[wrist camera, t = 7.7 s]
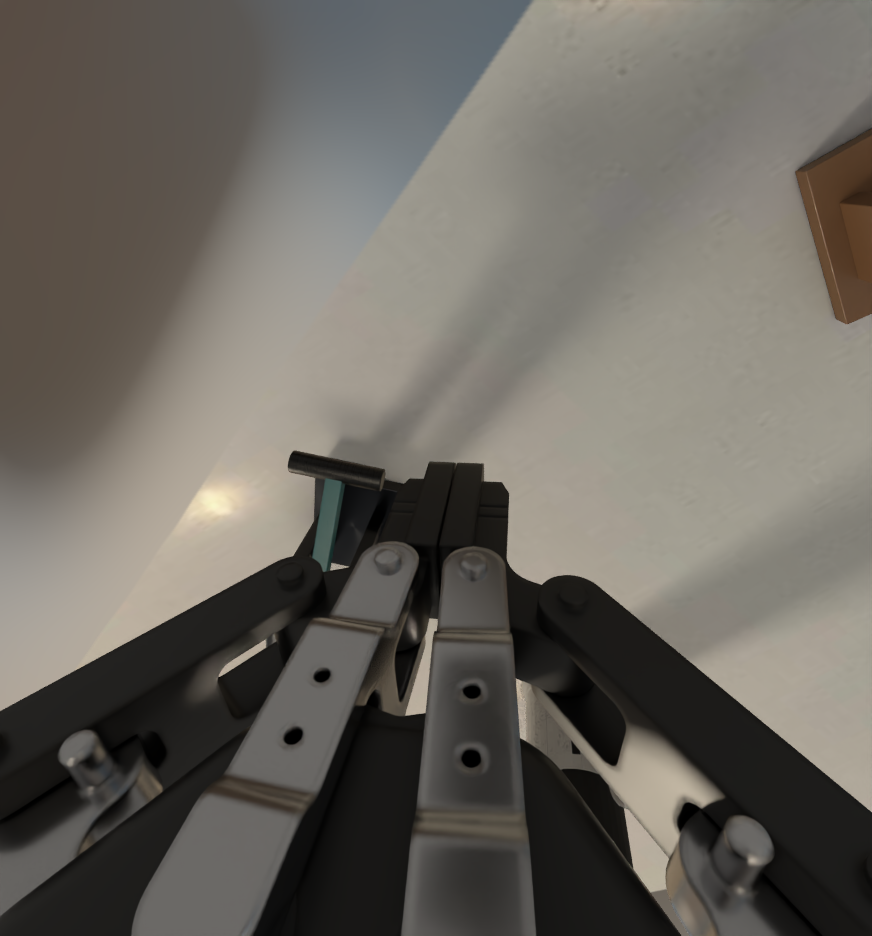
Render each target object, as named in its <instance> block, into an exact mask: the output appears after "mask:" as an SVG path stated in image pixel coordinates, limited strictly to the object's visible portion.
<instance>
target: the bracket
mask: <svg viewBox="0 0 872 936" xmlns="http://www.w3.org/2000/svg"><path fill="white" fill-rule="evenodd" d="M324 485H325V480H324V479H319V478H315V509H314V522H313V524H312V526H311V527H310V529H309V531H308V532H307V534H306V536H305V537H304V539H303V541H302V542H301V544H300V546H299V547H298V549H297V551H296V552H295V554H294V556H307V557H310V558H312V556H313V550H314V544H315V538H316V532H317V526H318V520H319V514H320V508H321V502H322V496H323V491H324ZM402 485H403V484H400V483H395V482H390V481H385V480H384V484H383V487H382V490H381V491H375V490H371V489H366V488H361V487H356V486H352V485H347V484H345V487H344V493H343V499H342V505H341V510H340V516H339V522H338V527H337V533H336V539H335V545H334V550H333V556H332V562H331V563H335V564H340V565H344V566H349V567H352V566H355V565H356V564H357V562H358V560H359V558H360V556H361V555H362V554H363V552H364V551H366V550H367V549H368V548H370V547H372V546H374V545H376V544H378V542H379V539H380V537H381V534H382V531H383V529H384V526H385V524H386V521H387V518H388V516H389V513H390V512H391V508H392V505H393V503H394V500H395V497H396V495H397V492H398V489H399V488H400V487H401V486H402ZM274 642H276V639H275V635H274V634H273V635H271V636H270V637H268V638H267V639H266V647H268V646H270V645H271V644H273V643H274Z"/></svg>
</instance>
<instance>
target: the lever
mask: <svg viewBox="0 0 872 936" xmlns="http://www.w3.org/2000/svg"><path fill="white" fill-rule="evenodd" d="M288 470H289V472H291V473H295V474H300V475H305V476H309V477H314V478H319V479H324V480H325V485H324V491H323V496H322V502H321V508H320V514H319V520H318V526H317V532H316V538H315V544H314V550H313V556H312V558H313V559H315V560H316V561H318V562H319V563H320V564H321V566H322V570H323V572H326V571H330V568H331V562H332V556H333V550H334V545H335V539H336V533H337V527H338V522H339V516H340V510H341V505H342V499H343V493H344V487H345V484H347V485H352V486H356V487H361V488H366V489H371V490H375V491H381V490H382V487H383V484H384V480H385V470H384V469H380V468H376V467H371V466H366V465H361V464H357V463H352V462H347V461H342V460H338V459H333V458H328V457H323V456H319V455H314V454H309V453H304V452H300V451H293V452H292V453H291V455H290V458H289V462H288Z"/></svg>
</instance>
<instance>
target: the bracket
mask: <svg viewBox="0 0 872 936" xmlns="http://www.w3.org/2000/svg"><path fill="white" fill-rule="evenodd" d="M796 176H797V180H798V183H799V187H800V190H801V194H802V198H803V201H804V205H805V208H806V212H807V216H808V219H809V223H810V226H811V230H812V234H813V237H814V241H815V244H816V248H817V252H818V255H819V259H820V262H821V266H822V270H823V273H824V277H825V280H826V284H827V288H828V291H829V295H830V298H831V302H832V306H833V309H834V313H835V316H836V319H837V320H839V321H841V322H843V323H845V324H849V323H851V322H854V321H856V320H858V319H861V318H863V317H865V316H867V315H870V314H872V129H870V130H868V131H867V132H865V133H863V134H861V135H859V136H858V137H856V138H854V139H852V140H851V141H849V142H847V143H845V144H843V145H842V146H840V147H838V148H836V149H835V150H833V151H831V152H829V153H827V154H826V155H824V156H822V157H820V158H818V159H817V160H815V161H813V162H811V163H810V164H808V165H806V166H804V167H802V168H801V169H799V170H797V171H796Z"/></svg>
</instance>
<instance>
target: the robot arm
mask: <svg viewBox="0 0 872 936" xmlns="http://www.w3.org/2000/svg"><path fill="white" fill-rule="evenodd" d="M508 508H509V493H508V491H507V490H506V488H505V487H504V485H503V483H502V482H484V464H479V463H457V466H456V463H450V462H429V464H428V467H427V470H426V474H425V477H424V479H411V478H410V479H409V480H408V481H407V482H406V483H404V484H403V485H402V486H401V487H400V488H399V489H398V492H397V495H396V497H395V500H394V503H393V505H392V508H391V512H390V513H389V516H388V518H387V521H386V524H385V526H384V529H383V531H382V534H381V537H380V539H379V542H378V544H376V545H374V546H372V547H370V548H368V549H367V550H366V551H364V552H363V554H362V555H361V556H360V558H359V560H358V562H357V564H356V565H355V566H352V567H348V568H344V569H338V570H332V571H326V572H323V570H322V566H321V564H320V563H319V562H318V561H316V560H315V559H313V558H310V557H307V556H293V557H288V558H285V559H282V560H279V561H277V562H275V563H273V564H271V565H270V566H268V567H266V568H264V569H262V570H260V571H259V572H257V573H255V574H253V575H251V576H249V577H247V578H246V579H244V580H242V581H240V582H238V583H236V584H235V585H233V586H231V587H229V588H227V589H225V590H223V591H222V592H220V593H218V594H216V595H214V596H212V597H210V598H209V599H207V600H205V601H203V602H201V603H199V604H198V605H196V606H194V607H192V608H190V609H188V610H186V611H185V612H183V613H181V614H179V615H177V616H175V617H174V618H172V619H170V620H168V621H166V622H164V623H162V624H161V625H159V626H157V627H155V628H153V629H151V630H149V631H148V632H146V633H144V634H142V635H140V636H138V637H137V638H135V639H133V640H131V641H129V642H127V643H125V644H124V645H122V646H120V647H118V648H116V649H114V650H113V651H111V652H109V653H107V654H105V655H103V656H101V657H100V658H98V659H96V660H94V661H92V662H90V663H88V664H87V665H85V666H83V667H81V668H79V669H77V670H76V671H74V672H72V673H70V674H68V675H66V676H65V677H63V678H61V679H59V680H57V681H55V682H54V683H52V684H50V685H48V686H46V687H44V688H42V689H40V690H39V691H37V692H35V693H33V694H31V695H29V696H28V697H26V698H24V699H22V700H20V701H18V702H16V703H15V704H13V705H11V706H9V707H8V708H5V709H3V710H2V711H0V936H681V934H680V933H679V932H678V930H677V929H676V928H675V926H674V925H673V923H672V922H671V921H670V919H669V918H668V916H667V915H666V914H665V912H664V911H663V910H662V908H661V907H660V905H659V904H658V903H657V901H656V900H655V899H654V897H653V896H652V894H651V893H650V892H649V890H648V889H647V887H646V886H645V885H644V883H643V882H642V881H641V879H640V878H639V876H638V875H637V874H636V872H635V871H634V869H633V868H632V867H631V865H630V864H629V863H628V861H627V860H626V858H625V857H624V856H623V854H622V853H621V851H620V850H619V849H618V847H617V846H616V844H615V843H614V842H613V840H612V839H611V838H610V836H609V835H608V833H607V832H606V831H605V829H604V828H603V826H602V825H601V824H600V822H599V821H598V820H597V818H596V817H595V815H594V814H593V813H592V811H591V810H590V808H589V807H588V806H587V804H586V803H585V801H584V800H583V799H582V797H581V796H580V795H579V793H578V792H577V790H576V789H575V788H574V786H573V785H572V783H571V782H570V781H569V779H568V778H567V777H566V775H565V774H564V773H563V772H562V771H561V770H560V768H559V767H558V766H557V765H556V764H555V763H554V762H553V761H552V760H551V759H550V758H549V757H547V756H546V755H545V754H544V753H543V752H542V751H540V750H539V749H537V748H536V747H534V746H533V745H531V744H530V743H528V742H526V741H524V740H523V739H521V738H520V733H519V719H518V705H517V691H516V678H517V679H519V680H521V681H524V682H526V683H529V684H531V688H532V691H533V693H534V695H535V697H536V698H537V700H538V701H539V702H540V703H541V704H542V706H543V707H544V708H545V709H546V710H547V712H548V713H549V714H550V715H551V716H552V718H553V719H554V720H555V721H556V722H557V724H558V725H559V726H560V727H561V728H562V730H563V731H564V732H565V733H566V735H567V736H568V737H569V738H570V739H571V741H572V742H573V743H574V744H575V745H576V747H577V748H578V749H579V750H580V751H581V753H582V754H583V755H584V756H585V757H586V759H587V760H588V761H589V762H590V763H591V765H592V766H593V767H594V768H595V770H596V771H597V772H598V773H599V774H600V776H601V777H602V778H603V779H604V780H605V782H606V783H607V784H608V785H609V786H610V788H611V789H612V790H613V791H614V792H615V794H616V795H617V796H618V797H619V798H620V800H621V801H622V802H623V803H624V805H625V806H626V807H627V808H628V809H629V811H630V812H631V813H632V814H633V815H634V817H635V818H636V819H637V820H638V821H639V823H640V824H641V825H642V826H643V827H644V829H645V830H646V831H647V832H648V833H649V835H650V836H651V837H652V838H653V840H654V841H655V842H656V843H657V844H658V846H659V847H660V848H661V849H662V850H663V852H664V853H665V854H666V855H667V856H668V858H669V861H668V864H667V867H666V887H667V892H668V896H669V899H670V902H671V904H672V906H673V908H674V910H675V913H676V914H677V916H678V918H679V919H680V921H681V922H682V924H683V926H684V927H685V929H686V930H687V932H688V934H689V936H872V812H871V811H869V810H868V809H867V808H866V807H865V806H863V805H862V804H861V803H860V802H859V801H857V800H856V799H855V798H854V797H853V796H851V795H850V794H849V793H848V792H846V791H845V790H844V789H843V788H842V787H840V786H839V785H838V784H837V783H836V782H834V781H833V780H832V779H831V778H830V777H828V776H827V775H826V774H825V773H823V772H822V771H821V770H820V769H819V768H817V767H816V766H815V765H814V764H813V763H811V762H810V761H809V760H808V759H807V758H805V757H804V756H803V755H802V754H801V753H799V752H798V751H797V750H796V749H794V748H793V747H792V746H791V745H790V744H788V743H787V742H786V741H785V740H784V739H782V738H781V737H780V736H779V735H778V734H776V733H775V732H774V731H773V730H771V729H770V728H769V727H768V726H767V725H765V724H764V723H763V722H762V721H761V720H759V719H758V718H757V717H756V716H755V715H753V714H752V713H751V712H750V711H749V710H747V709H746V708H745V707H744V706H742V705H741V704H740V703H739V702H738V701H736V700H735V699H734V698H733V697H732V696H730V695H729V694H728V693H727V692H726V691H724V690H723V689H722V688H721V687H719V686H718V685H717V684H716V683H715V682H713V681H712V680H711V679H710V678H709V677H707V676H706V675H705V674H704V673H703V672H701V671H700V670H699V669H698V668H697V667H695V666H694V665H693V664H692V663H690V662H689V661H688V660H687V659H686V658H684V657H683V656H682V655H681V654H680V653H678V652H677V651H676V650H675V649H674V648H672V647H671V646H670V645H669V644H668V643H666V642H665V641H664V640H663V639H661V638H660V637H659V636H658V635H657V634H655V633H654V632H653V631H652V630H651V629H649V628H648V627H647V626H646V625H645V624H643V623H642V622H641V621H640V620H638V619H637V618H636V617H635V616H634V615H632V614H631V613H630V612H629V611H628V610H626V609H625V608H624V607H623V606H622V605H620V604H619V603H618V602H617V601H616V600H614V599H613V598H612V597H611V596H609V595H608V594H607V593H606V592H605V591H603V590H602V589H601V588H600V587H599V586H597V585H596V584H594V583H593V582H591V581H589V580H587V579H585V578H582V577H578V576H572V575H563V576H557V577H553V578H551V579H549V580H547V581H546V582H545V583H543V584H542V585H540V584H537V583H534V582H531V581H528V580H526V579H524V578H522V577H520V576H519V575H518V574H516V573H515V572H514V571H513V570H512V569H511V567H510V566H509V564H508V562H507V535H508ZM429 618H433V619H438V626H437V631H435V632H434V635H433V643H432V653H431V664H430V674H429V684H428V695H427V705H426V713H424V714H416V715H409V716H405V713H406V709H407V706H408V703H409V699H410V696H411V692H412V689H413V686H414V682H415V679H416V676H417V672H418V669H419V665H420V662H421V659H422V655H423V652H424V648H425V644H426V643H425V634H426V631H427V626H428V622H429ZM273 634H274V635H275V639H276V642H274V643H273V644H271V645H270V646H268V647H266V648H265V649H263V650H262V651H260V652H259V653H257V654H256V655H254V656H252V657H251V658H249V659H248V660H246V661H245V662H243V663H241V664H240V665H238V666H237V667H235V668H234V669H232V670H231V671H229V672H227V673H226V674H224V675H223V676H220V677H218V676H219V673H220V672H221V670H222V669H223V667H224V666H225V665H226V664H228V663H229V662H230V661H232V660H233V659H235V658H236V657H238V656H240V655H241V654H243V653H244V652H246V651H248V650H249V649H251V648H252V647H254V646H255V645H257V644H259V643H260V642H262V641H263V640H265V639H267V638H268V637H270V636H271V635H273Z"/></svg>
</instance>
